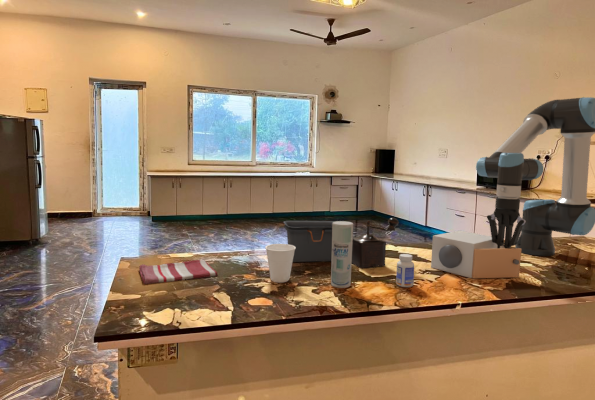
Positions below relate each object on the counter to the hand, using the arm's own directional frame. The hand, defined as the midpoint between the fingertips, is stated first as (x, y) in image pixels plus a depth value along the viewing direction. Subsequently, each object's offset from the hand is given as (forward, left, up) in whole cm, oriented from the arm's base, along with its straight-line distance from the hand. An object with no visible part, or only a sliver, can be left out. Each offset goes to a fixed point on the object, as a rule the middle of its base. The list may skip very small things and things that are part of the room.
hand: (502, 263), depth 150 cm
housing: (+4, -12, -4) cm, 13 cm away
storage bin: (+43, -53, -4) cm, 68 cm away
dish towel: (+92, -66, -5) cm, 113 cm away
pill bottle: (+38, -13, -4) cm, 40 cm away
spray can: (+55, -25, -4) cm, 60 cm away
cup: (+68, -40, -4) cm, 79 cm away
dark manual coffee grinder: (+27, -36, -4) cm, 45 cm away
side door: (+6, +1, -4) cm, 7 cm away
